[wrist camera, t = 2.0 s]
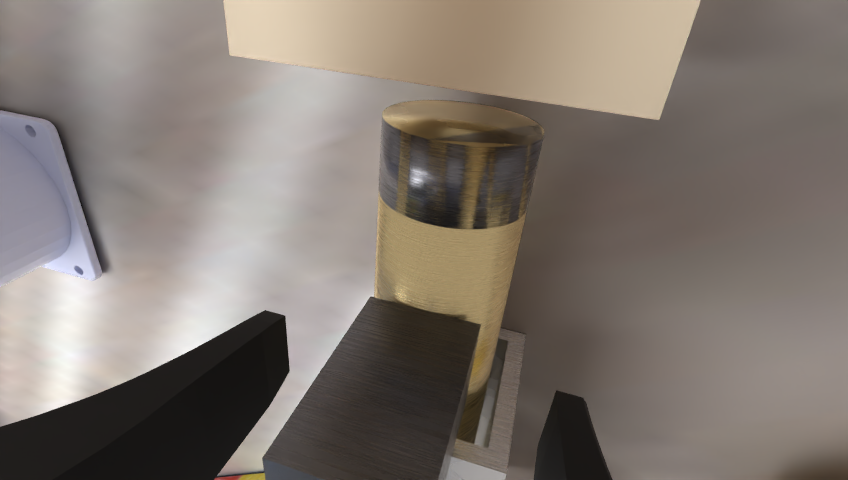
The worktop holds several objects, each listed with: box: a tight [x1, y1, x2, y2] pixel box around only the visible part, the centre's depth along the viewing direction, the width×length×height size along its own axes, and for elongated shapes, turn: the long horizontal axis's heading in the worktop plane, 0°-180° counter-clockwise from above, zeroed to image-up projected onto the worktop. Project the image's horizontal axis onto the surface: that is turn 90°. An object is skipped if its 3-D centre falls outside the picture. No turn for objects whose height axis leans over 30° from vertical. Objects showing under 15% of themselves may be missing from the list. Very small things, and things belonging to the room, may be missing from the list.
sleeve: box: [446, 328, 526, 480], centre depth 17 cm, size 6×8×6 cm
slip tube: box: [262, 100, 544, 480], centre depth 13 cm, size 4×16×9 cm, turn 175°
